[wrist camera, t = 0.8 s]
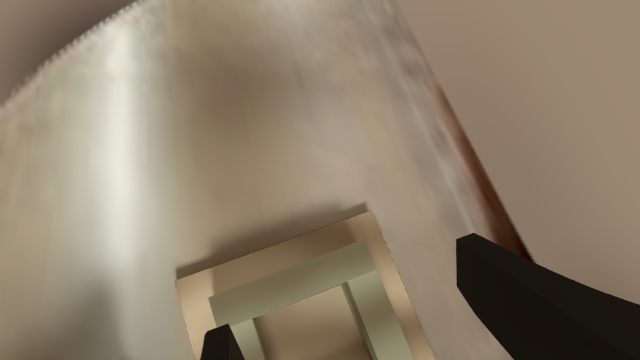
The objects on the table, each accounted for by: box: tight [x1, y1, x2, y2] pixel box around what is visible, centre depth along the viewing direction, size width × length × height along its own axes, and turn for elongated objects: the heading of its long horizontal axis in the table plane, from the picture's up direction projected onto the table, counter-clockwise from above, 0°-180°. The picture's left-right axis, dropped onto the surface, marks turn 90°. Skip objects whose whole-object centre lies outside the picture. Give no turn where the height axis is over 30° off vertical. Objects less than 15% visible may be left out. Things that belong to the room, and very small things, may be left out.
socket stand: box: [175, 210, 435, 360], centre depth 25 cm, size 14×14×3 cm
